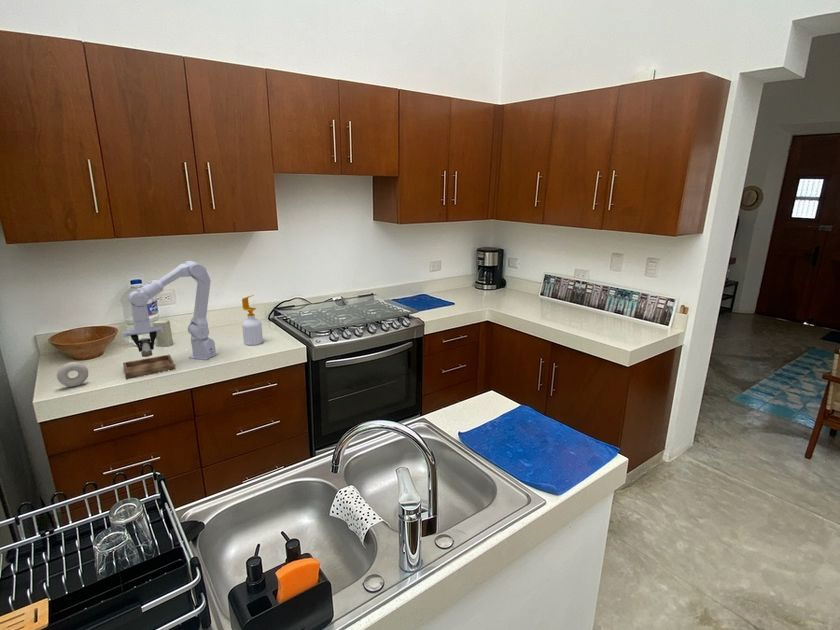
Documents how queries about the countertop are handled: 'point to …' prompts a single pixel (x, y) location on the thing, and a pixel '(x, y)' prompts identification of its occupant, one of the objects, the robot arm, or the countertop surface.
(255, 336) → the soap bottle
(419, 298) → the countertop surface
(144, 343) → the steel shaker
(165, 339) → the skincare box
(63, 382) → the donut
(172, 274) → the robot arm
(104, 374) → the countertop surface
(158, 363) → the walnut tray
